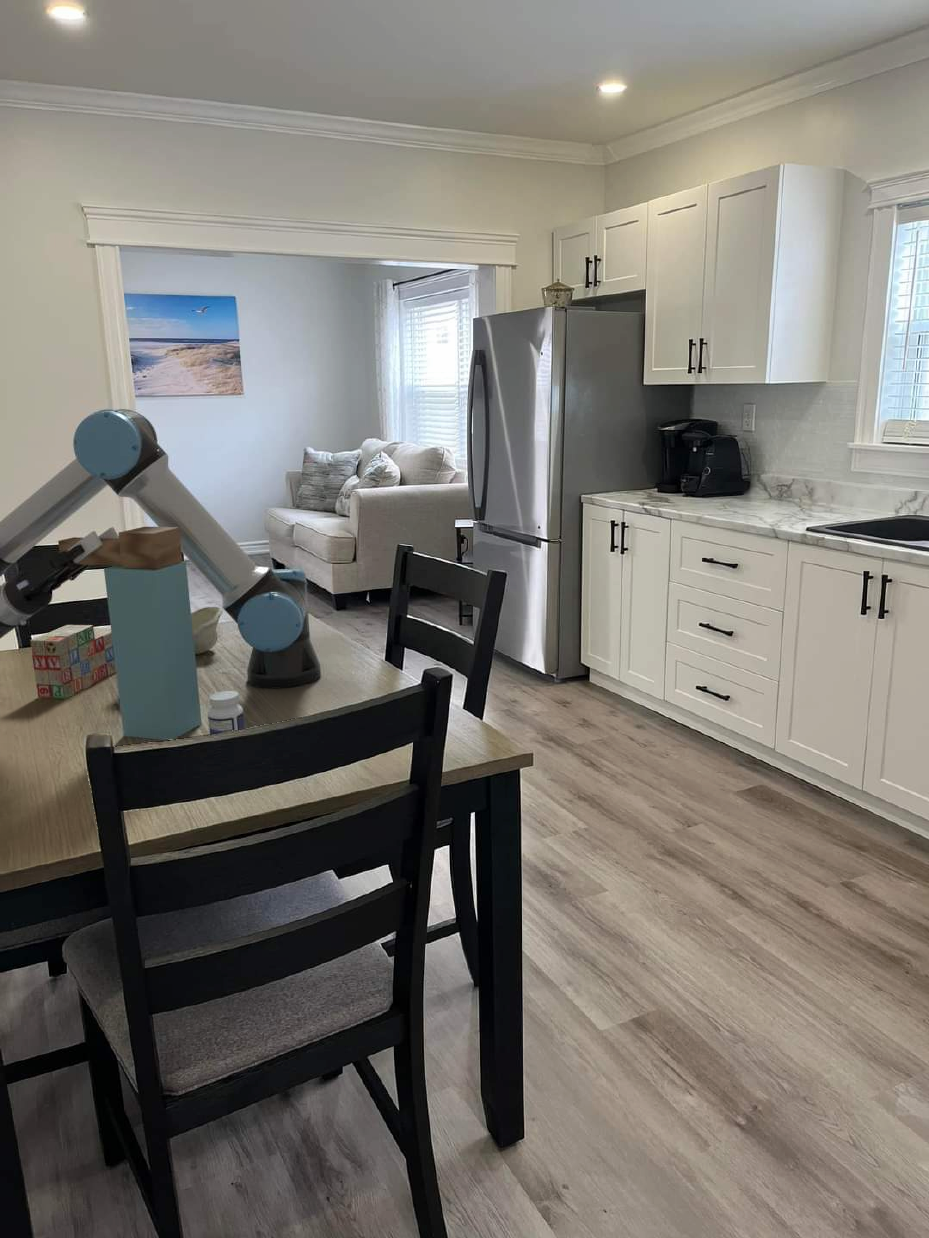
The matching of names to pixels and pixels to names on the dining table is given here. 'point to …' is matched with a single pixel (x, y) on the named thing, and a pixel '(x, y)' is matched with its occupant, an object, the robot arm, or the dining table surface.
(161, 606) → the stand
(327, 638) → the dining table surface
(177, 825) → the dining table surface
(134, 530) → the brown wooden block
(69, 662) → the stack of blocks
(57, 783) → the dining table surface
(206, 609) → the bowl
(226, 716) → the pill bottle
